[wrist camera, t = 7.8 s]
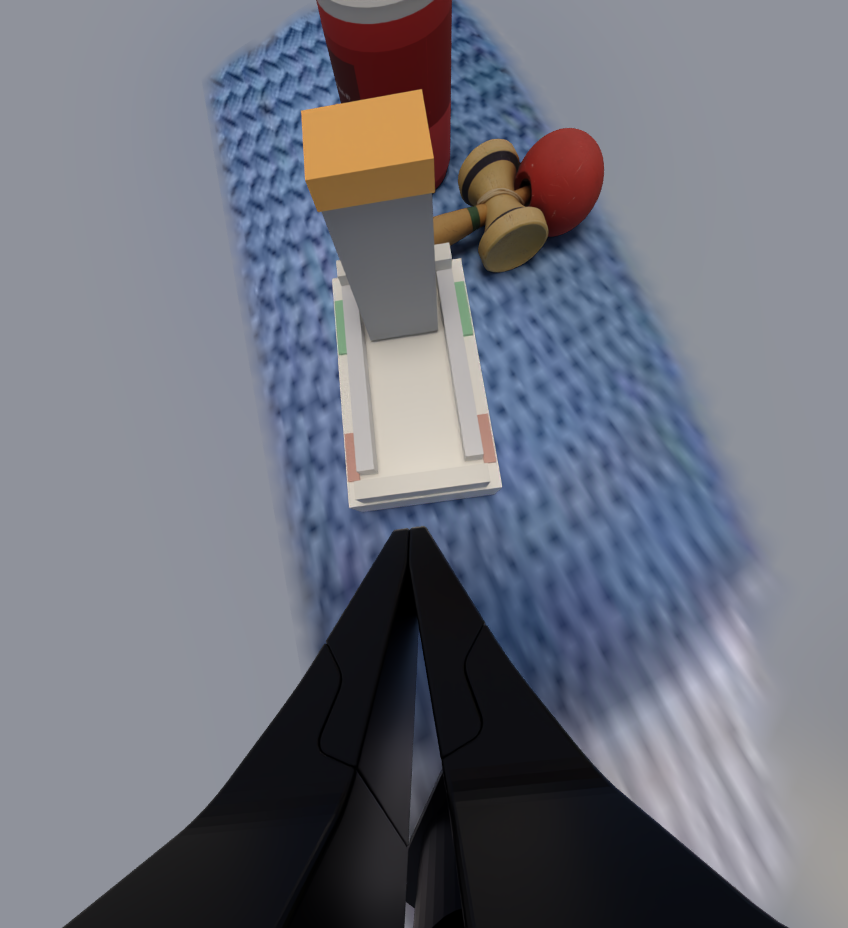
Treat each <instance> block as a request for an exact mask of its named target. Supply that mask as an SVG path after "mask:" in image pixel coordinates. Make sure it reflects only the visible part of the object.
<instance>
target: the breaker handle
mask: <svg viewBox="0 0 848 928" xmlns="http://www.w3.org/2000/svg"><path fill="white" fill-rule="evenodd" d="M301 114H302V131H303V149H304V166H305V181H306V183H307V186H308V188H309V191H310V193H311V196H312V199H313V201H314V204H315V206H316V209H317V211H318V212H322V214H323V217H324V219H325V222H326V225H327V227H328V230H329V232H330V235H331V238H332V240H333V243H334V246H335V248H336V251H337V253H338V256H339V259H340V261H341V264H342V267H343V269H344V272H345V274H346V277H347V280H348V282H349V285H350V288H351V290H352V293H353V295H354V298H355V301H356V303H357V306H358V309H359V311H360V314H361V316H362V319H363V322H364V324H365V327H366V330H367V332H368V335H369V337H370V340H371V341H372V340H379V339H385V338H392V337H398V336H405V335H411V334H418V333H424V332H431V331H437V330H438V317H437V294H436V272H435V250H434V227H433V205H432V193H435V178H434V156H433V151H432V145H431V139H430V133H429V128H428V122H427V116H426V110H425V105H424V99H423V93H422V89H420V90H414V91H409V92H403V93H398V94H392V95H386V96H381V97H375V98H370V99H364V100H359V101H353V102H348V103H342V104H336V105H331V106H325V107H320V108H314V109H309V110H303V111H301Z"/></svg>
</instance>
